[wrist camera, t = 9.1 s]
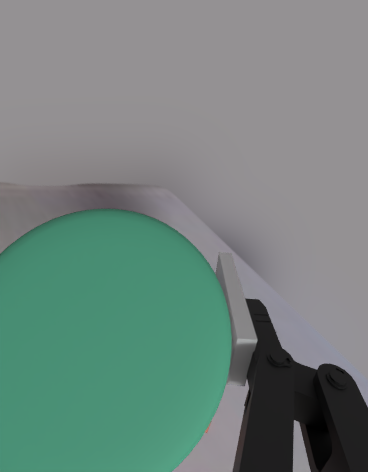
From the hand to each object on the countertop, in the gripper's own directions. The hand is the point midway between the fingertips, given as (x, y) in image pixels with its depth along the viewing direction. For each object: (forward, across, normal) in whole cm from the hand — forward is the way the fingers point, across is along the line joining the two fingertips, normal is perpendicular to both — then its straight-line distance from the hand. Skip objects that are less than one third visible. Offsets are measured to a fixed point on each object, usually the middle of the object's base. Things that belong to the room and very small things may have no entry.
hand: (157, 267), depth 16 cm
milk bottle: (+4, 0, -9) cm, 9 cm away
